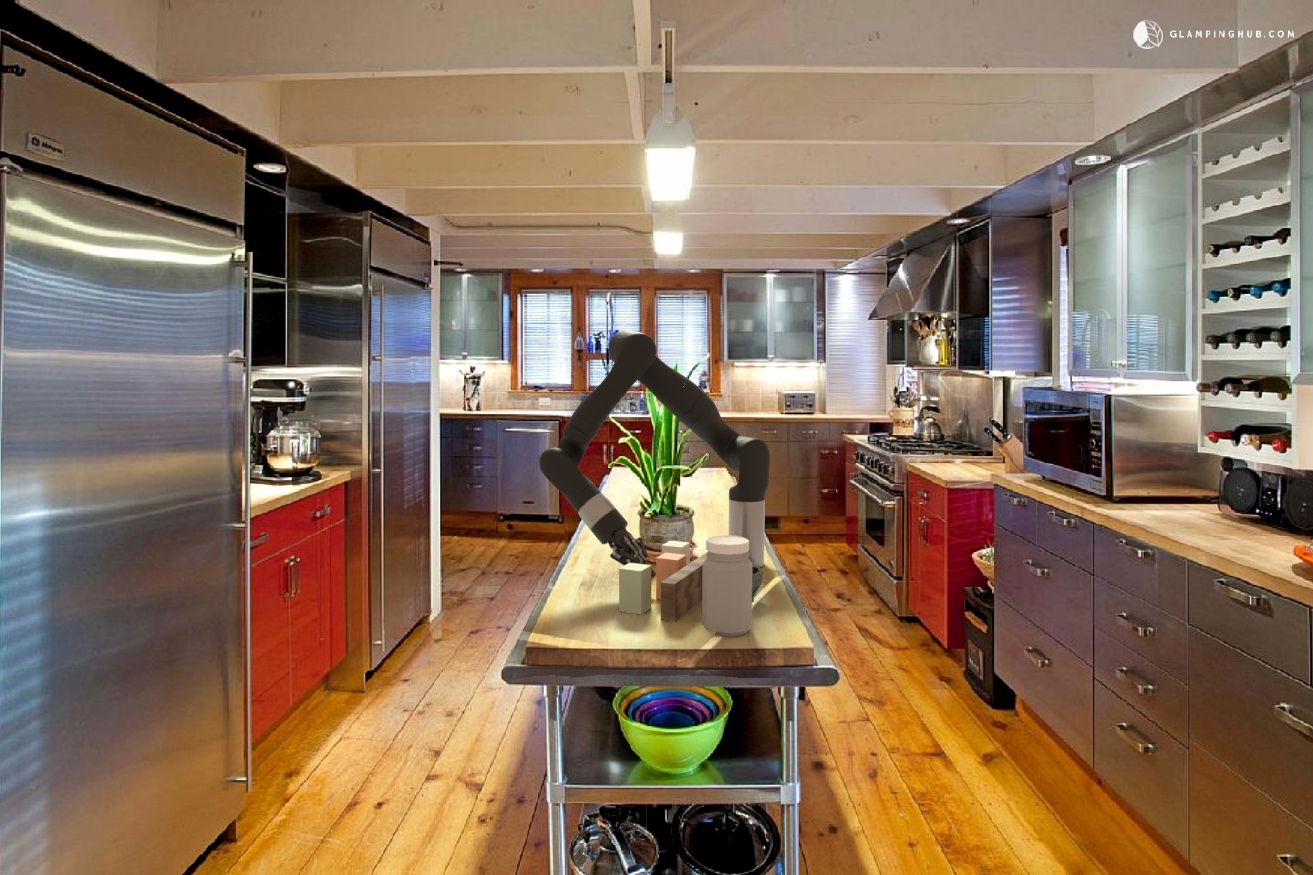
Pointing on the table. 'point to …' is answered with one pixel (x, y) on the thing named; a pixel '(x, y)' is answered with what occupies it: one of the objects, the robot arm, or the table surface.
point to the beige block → (677, 549)
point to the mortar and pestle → (756, 579)
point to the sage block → (635, 588)
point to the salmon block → (667, 568)
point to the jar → (727, 586)
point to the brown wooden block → (682, 590)
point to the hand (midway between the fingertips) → (652, 577)
